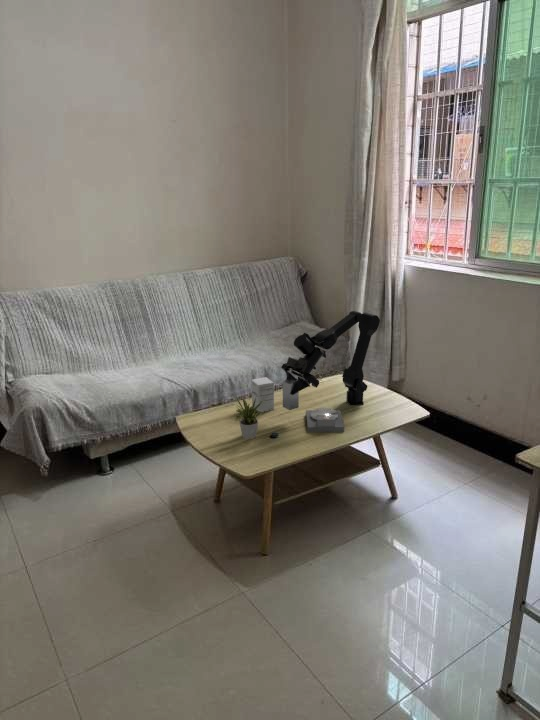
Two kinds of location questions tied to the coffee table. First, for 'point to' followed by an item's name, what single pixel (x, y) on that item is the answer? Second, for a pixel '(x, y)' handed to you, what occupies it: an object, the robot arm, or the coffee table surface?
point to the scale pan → (323, 413)
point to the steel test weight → (288, 399)
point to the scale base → (324, 429)
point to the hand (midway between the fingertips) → (287, 392)
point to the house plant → (248, 419)
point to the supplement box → (263, 394)
